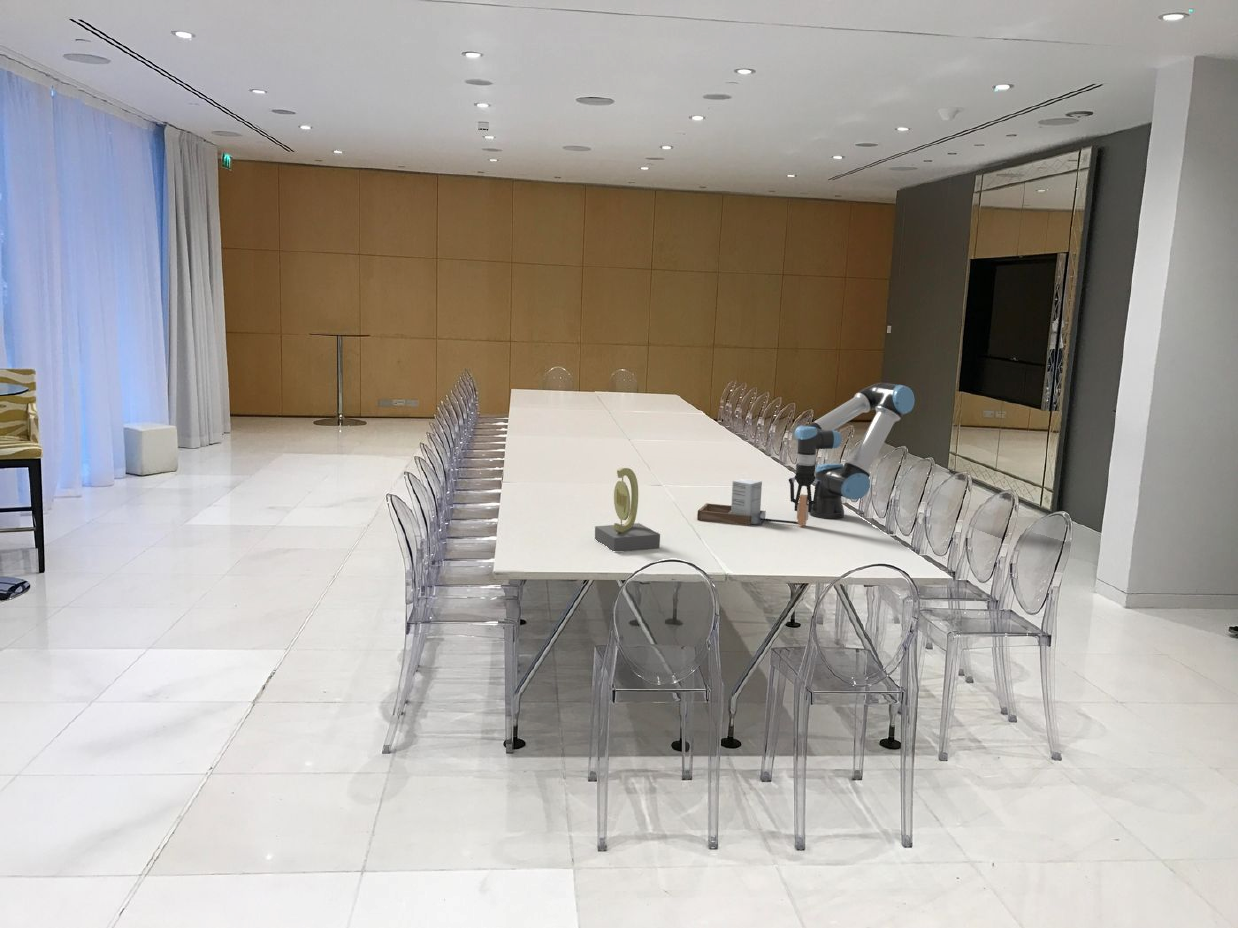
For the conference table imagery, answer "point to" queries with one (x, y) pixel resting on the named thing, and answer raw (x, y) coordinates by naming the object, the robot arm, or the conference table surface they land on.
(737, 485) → the supplement box
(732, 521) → the tray
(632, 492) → the trophy
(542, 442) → the conference table surface
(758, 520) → the pusher tool
